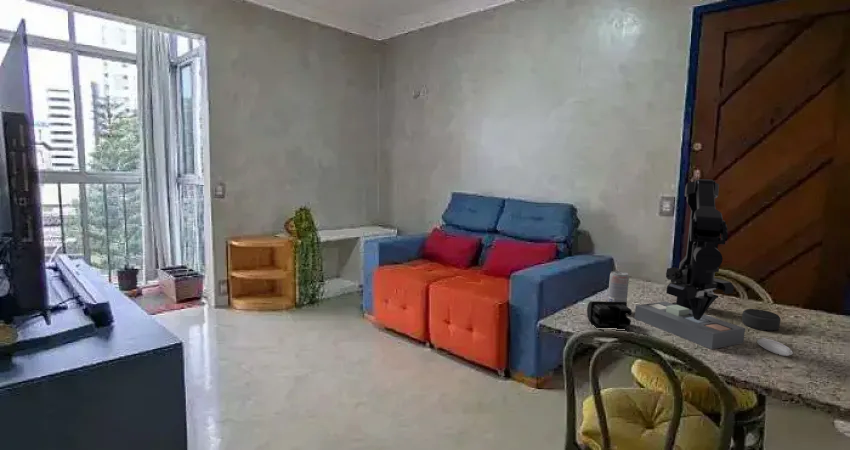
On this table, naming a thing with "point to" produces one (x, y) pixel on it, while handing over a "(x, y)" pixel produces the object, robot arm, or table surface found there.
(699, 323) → the key slate
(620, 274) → the energy drink
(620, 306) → the end cap
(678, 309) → the key sage
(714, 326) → the key terracotta
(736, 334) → the keypad
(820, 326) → the table surface
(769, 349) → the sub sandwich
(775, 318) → the smart speaker
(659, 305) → the key ivory
